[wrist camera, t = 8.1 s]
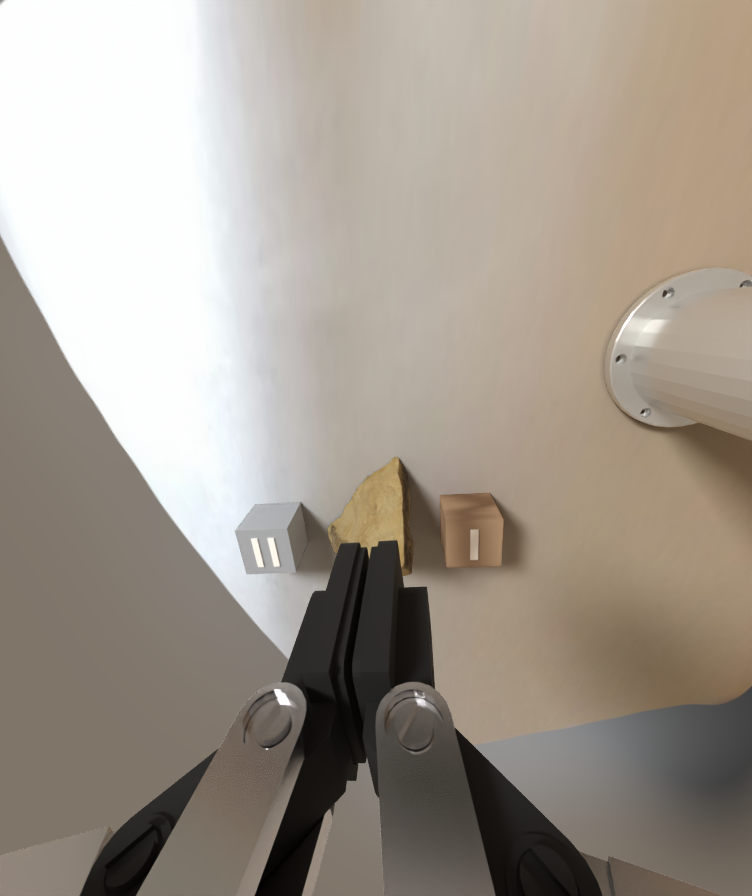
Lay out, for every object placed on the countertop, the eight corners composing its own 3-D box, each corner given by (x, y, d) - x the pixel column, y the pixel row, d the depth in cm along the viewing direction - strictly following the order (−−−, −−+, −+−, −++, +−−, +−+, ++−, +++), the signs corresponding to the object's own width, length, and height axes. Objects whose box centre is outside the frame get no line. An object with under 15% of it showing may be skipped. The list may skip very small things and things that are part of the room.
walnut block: (489, 492, 35) (504, 520, 30) (488, 535, 37) (501, 568, 32) (439, 494, 36) (446, 522, 31) (440, 537, 38) (446, 569, 33)
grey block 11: (300, 501, 37) (286, 529, 32) (308, 542, 39) (296, 574, 34) (255, 504, 37) (234, 531, 33) (265, 544, 39) (246, 576, 34)
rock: (336, 577, 37) (428, 568, 34) (293, 587, 29) (408, 577, 27) (329, 478, 40) (413, 463, 38) (289, 463, 32) (391, 443, 30)
